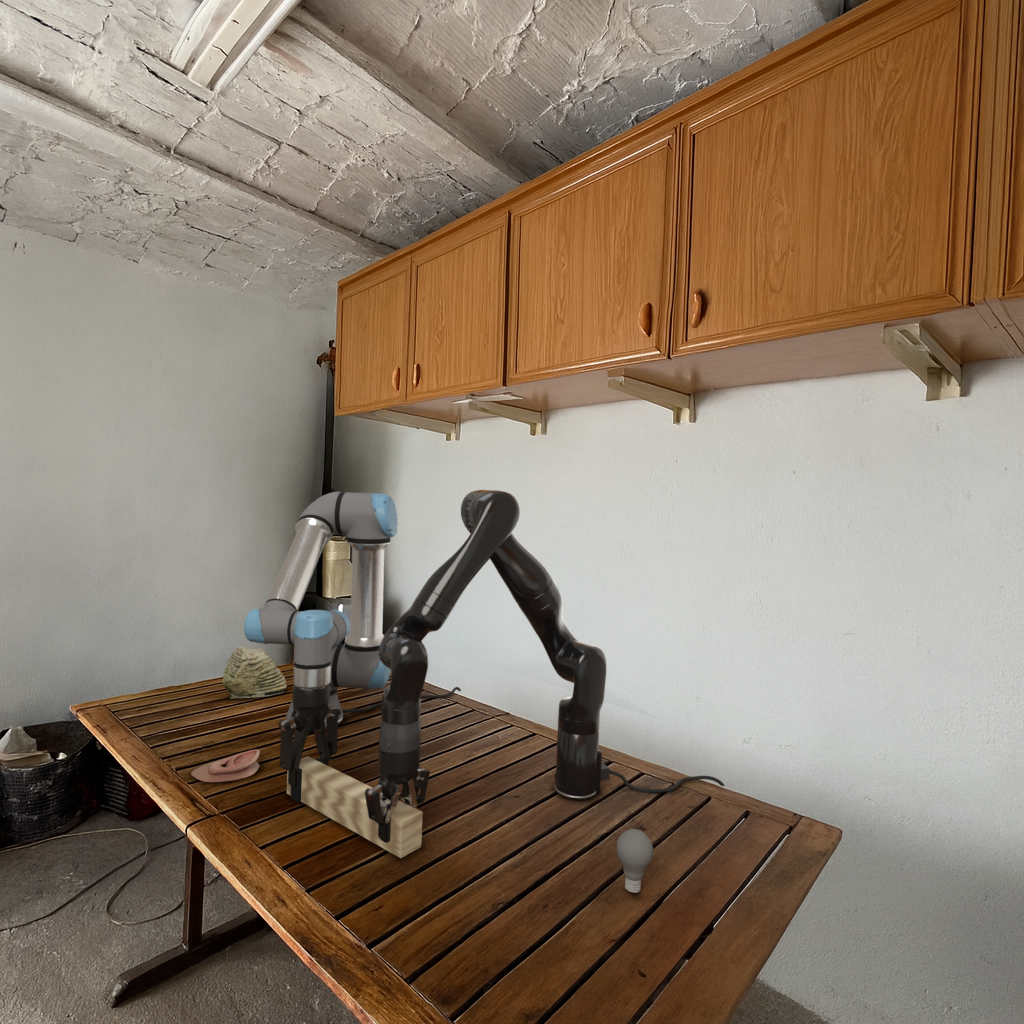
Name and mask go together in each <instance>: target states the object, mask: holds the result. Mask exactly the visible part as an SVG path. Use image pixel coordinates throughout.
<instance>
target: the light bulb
mask: <svg viewBox="0 0 1024 1024" xmlns="http://www.w3.org/2000/svg"><path fill="white" fill-rule="evenodd" d="M615 849H616V854H617V857H618V859H619V861H620V863H621V865H622V867H623V873H624V874H623V875H624V876H625V878H624V888H625V890H627V891H628V892H630V893H634V894H635V893H639V892H640V891H641V889H642V887H641V886H642V879H643V877H644V875H645V871H646V868H647V867H648V866H649V864H650V863H651V861H652V859H653V855H654V847H653V843H652V841H651V838H649V836H648V835H647V834H646V833H645V832H643V831H642V830H641V829H636V828H629V829H627V830H625V831H623V832H622V833H621V834H620V835H619V837H618V839H617V841H616V847H615Z"/></svg>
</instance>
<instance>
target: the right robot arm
mask: <svg viewBox="0 0 1024 1024" xmlns="http://www.w3.org/2000/svg"><path fill="white" fill-rule="evenodd" d="M460 517H461V520H462V523H463V525H464V527H465V528H466V530H467V531H468V533H469V535H468V537H467V538H466V539H465V541H464V543H463V544H462V545H461V546H460V547H459V548H458V549H457V550H456V551H455V552H454V553H453V554H452V555H451V556H450V557H449V558H448V559H447V560H446V561H444V563H442V564H441V565H440V566H439V567H438V568H437V569H435V571H434V572H433V573H432V574H431V576H430V577H429V578H428V579H427V580H426V582H425V584H424V585H423V586H422V588H421V590H419V592H418V594H417V596H416V597H415V599H414V601H412V604H411V606H410V607H409V608H408V609H407V610H406V611H405V612H404V613H403V614H402V615H401V616H400V617H399V618H398V619H397V620H396V621H395V622H394V623H393V624H392V625H391V626H390V627H389V628H388V630H387V631H386V632H385V634H384V637H383V639H382V641H381V643H380V646H379V658H380V660H381V662H382V663H383V664H384V665H385V666H386V667H388V668H389V669H391V678H390V684H389V685H388V686H386V687H385V688H384V689H383V692H382V697H381V702H382V705H381V719H380V724H379V725H380V726H379V732H378V733H379V735H378V759H377V760H378V762H377V766H378V767H377V768H378V771H379V775H380V776H379V778H378V782H377V785H376V786H374V787H372V788H373V789H369V788H367V789H366V790H365V798H366V804H367V809H368V815H369V819H371V820H374V821H375V822H377V823H378V837H379V838H380V840H382V841H384V842H385V843H387V842H389V841H390V834H391V822H390V819H391V816H392V812H393V810H395V809H396V806H397V802H398V801H401V799H402V802H403V803H405V804H407V805H409V806H411V807H413V808H415V809H418V806H419V804H424V802H425V800H426V795H427V790H428V784H429V779H430V773H431V772H430V770H428V769H427V768H424V767H421V743H422V726H421V707H422V706H421V705H422V704H421V702H422V701H421V700H422V698H421V695H422V692H423V690H424V686H425V683H426V678H427V674H428V670H429V652H428V648H427V646H426V644H425V643H424V642H423V640H424V639H425V638H426V636H428V634H429V633H433V632H437V631H440V630H441V628H442V627H443V626H444V624H445V623H446V621H447V620H448V618H449V617H450V615H451V613H452V612H453V610H454V608H455V607H456V606H457V604H458V602H459V600H460V599H461V597H462V596H463V594H464V592H466V589H467V588H468V586H469V585H470V584H471V582H472V581H473V580H474V579H475V578H476V576H477V575H478V574H479V572H480V570H482V569H483V567H484V566H485V565H487V564H486V563H488V562H489V560H490V561H491V563H492V564H493V566H494V568H495V570H496V571H497V573H498V575H499V576H500V578H501V579H502V581H503V583H504V584H505V586H506V588H507V589H508V591H509V592H510V594H511V596H512V598H513V600H514V601H515V603H516V604H517V606H518V608H519V609H520V611H521V613H522V614H523V615H524V617H525V618H526V620H527V621H528V623H529V624H530V626H531V628H532V629H533V631H534V633H535V634H536V636H537V637H538V639H539V640H540V642H541V644H542V646H543V649H544V650H545V653H546V655H547V657H548V659H549V661H550V664H551V665H552V667H553V670H554V672H556V674H557V675H558V676H559V677H560V678H561V679H563V680H564V681H566V682H569V683H572V684H573V688H572V689H573V690H572V695H569V696H566V697H563V698H561V699H560V700H559V702H558V713H557V715H558V717H557V738H556V756H555V757H556V758H555V772H554V791H555V793H556V794H558V795H559V796H560V797H562V798H564V799H568V800H572V801H584V800H585V801H586V800H590V799H592V798H594V797H596V795H601V782H602V781H609V780H610V775H612V776H613V775H614V776H615V777H618V778H620V779H621V780H622V782H623V783H624V785H625V786H626V787H627V788H629V789H631V790H633V791H636V792H637V791H638V792H642V793H643V792H644V793H649V794H658V793H659V794H660V793H668V792H673V791H674V790H676V789H678V787H680V785H681V784H683V783H684V782H689V781H696V780H697V781H699V780H708V781H713V782H715V783H717V784H718V785H719V786H721V787H725V786H726V785H725V784H724V783H723V781H721V780H720V779H719V778H718V777H714V776H711V775H694V776H687V777H683V778H680V779H679V780H678V781H676V783H675V784H674V785H672V786H670V787H662V788H642V787H638V786H634V785H632V784H631V783H630V782H629V781H628V780H627V778H626V777H625V775H623V774H621V773H620V772H618V771H615V770H612V769H611V768H610V766H609V767H608V766H607V765H606V764H605V763H604V762H603V761H602V759H603V752H602V750H601V749H599V747H600V746H599V743H600V725H601V724H600V722H601V721H600V720H601V710H602V707H603V704H604V701H605V693H606V685H607V684H606V683H607V673H608V662H607V656H606V653H605V652H604V650H603V649H602V648H600V647H598V646H596V645H593V644H590V643H587V642H583V641H581V640H578V639H577V638H576V637H575V636H574V635H573V633H572V632H571V631H570V629H569V627H568V626H567V624H566V622H565V620H564V616H563V615H564V613H563V612H564V599H563V595H562V593H561V591H560V589H559V587H558V585H557V583H556V582H555V580H554V577H552V574H551V573H550V572H549V571H548V569H547V568H546V566H545V565H544V564H543V563H542V562H540V560H539V559H538V558H537V557H536V556H534V554H533V553H531V552H530V551H529V550H528V549H527V548H526V547H524V545H523V544H521V542H520V541H519V540H518V539H517V538H516V536H515V535H514V534H513V531H514V530H515V529H516V527H517V525H518V524H519V521H520V517H521V508H520V503H519V502H518V500H517V498H516V497H515V496H514V495H513V494H512V493H510V492H507V491H502V490H494V489H476V490H473V491H470V492H469V493H467V494H466V495H465V496H464V497H463V500H462V502H461V505H460ZM387 799H388V800H390V801H391V802H388V801H387ZM385 808H386V809H387V810H386V813H385V814H384V812H385Z"/></svg>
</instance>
